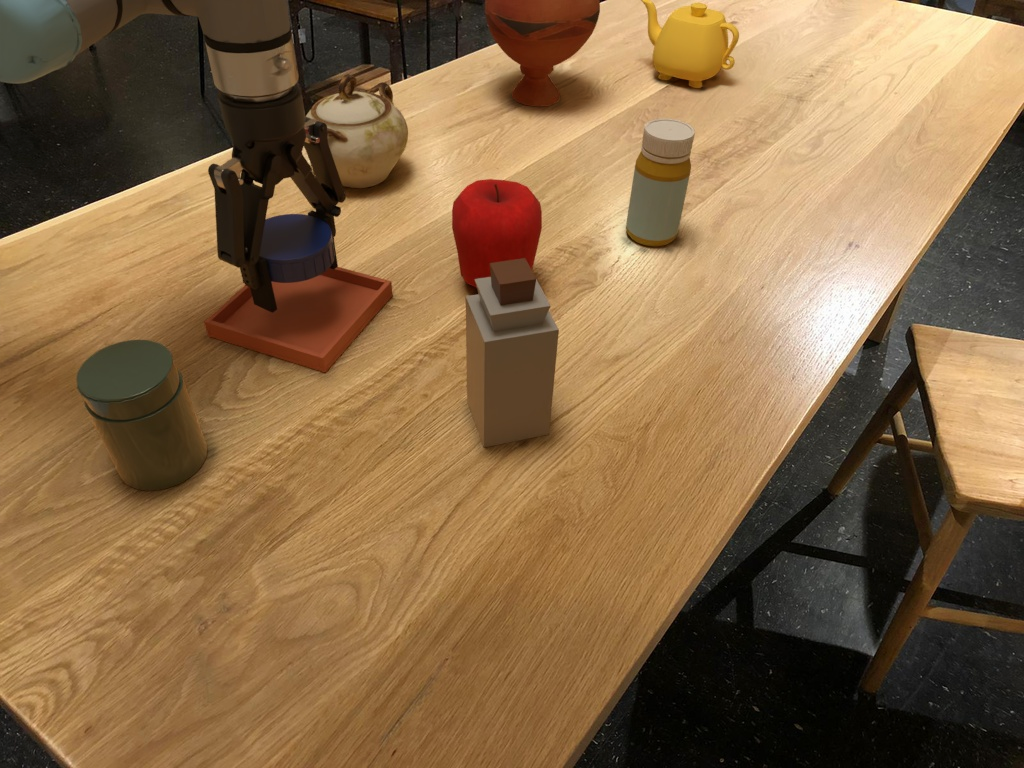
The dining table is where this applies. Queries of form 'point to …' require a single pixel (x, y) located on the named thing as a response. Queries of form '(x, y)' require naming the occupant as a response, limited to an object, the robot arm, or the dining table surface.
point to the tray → (303, 317)
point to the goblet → (540, 39)
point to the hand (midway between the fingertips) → (297, 284)
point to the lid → (296, 247)
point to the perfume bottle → (510, 355)
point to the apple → (495, 226)
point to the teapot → (691, 43)
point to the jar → (143, 414)
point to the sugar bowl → (362, 132)
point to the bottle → (660, 182)
